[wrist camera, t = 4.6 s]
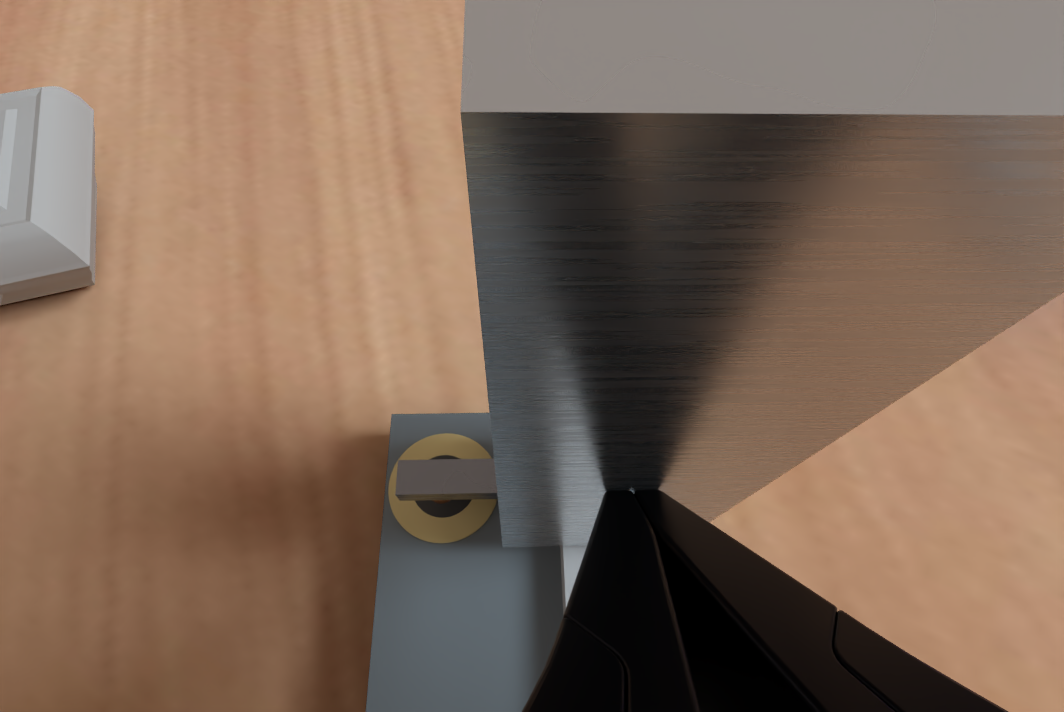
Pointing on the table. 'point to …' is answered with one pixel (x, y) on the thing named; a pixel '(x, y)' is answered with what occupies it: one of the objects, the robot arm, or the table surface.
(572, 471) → the sliding jaw
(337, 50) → the table surface
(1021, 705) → the table surface
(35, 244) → the stamp
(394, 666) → the plate
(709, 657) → the robot arm
